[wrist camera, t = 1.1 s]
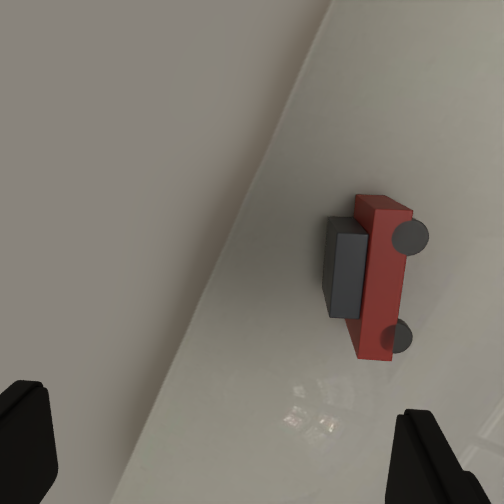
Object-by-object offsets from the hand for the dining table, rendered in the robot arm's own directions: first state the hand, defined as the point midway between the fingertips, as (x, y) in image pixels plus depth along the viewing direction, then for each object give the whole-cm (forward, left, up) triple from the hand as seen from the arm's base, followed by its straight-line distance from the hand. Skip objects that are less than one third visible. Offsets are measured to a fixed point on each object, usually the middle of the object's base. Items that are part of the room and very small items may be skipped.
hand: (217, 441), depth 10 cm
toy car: (+5, +5, -19) cm, 20 cm away
